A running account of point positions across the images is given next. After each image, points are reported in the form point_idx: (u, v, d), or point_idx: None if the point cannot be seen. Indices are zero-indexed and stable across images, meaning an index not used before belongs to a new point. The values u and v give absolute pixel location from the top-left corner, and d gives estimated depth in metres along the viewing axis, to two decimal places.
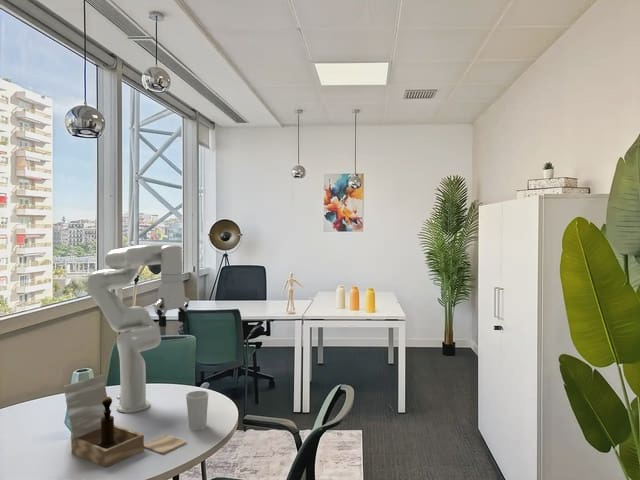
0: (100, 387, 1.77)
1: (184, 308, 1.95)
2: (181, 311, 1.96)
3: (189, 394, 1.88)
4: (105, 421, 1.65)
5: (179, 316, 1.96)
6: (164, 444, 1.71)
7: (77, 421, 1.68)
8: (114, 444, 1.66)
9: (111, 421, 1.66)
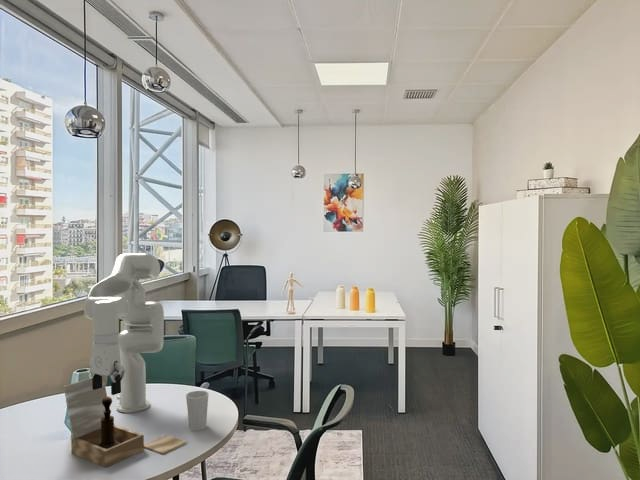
0: None
1: None
2: (98, 376, 1.69)
3: (189, 394, 1.88)
4: (105, 421, 1.65)
5: (96, 383, 1.68)
6: (164, 444, 1.71)
7: (77, 421, 1.68)
8: (114, 444, 1.66)
9: (111, 421, 1.66)
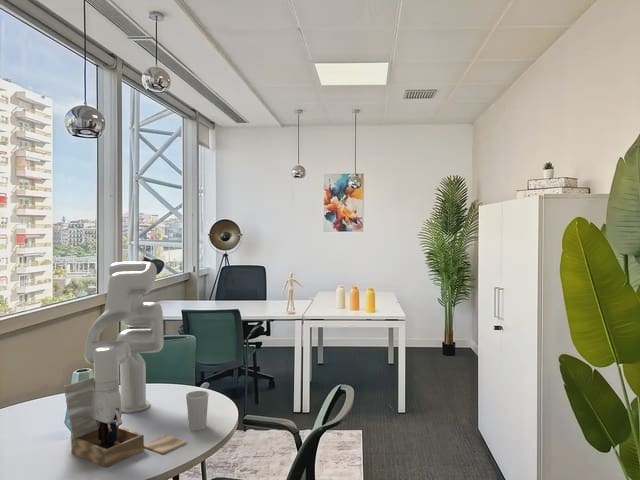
0: None
1: None
2: None
3: (189, 394, 1.88)
4: None
5: None
6: (164, 444, 1.71)
7: (77, 421, 1.68)
8: (114, 444, 1.66)
9: None
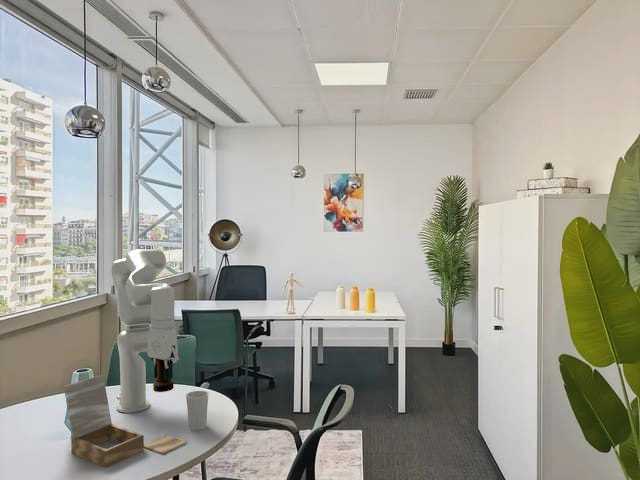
0: (100, 387, 1.77)
1: None
2: None
3: (189, 394, 1.89)
4: None
5: None
6: (164, 444, 1.71)
7: (77, 421, 1.68)
8: (170, 381, 1.70)
9: None
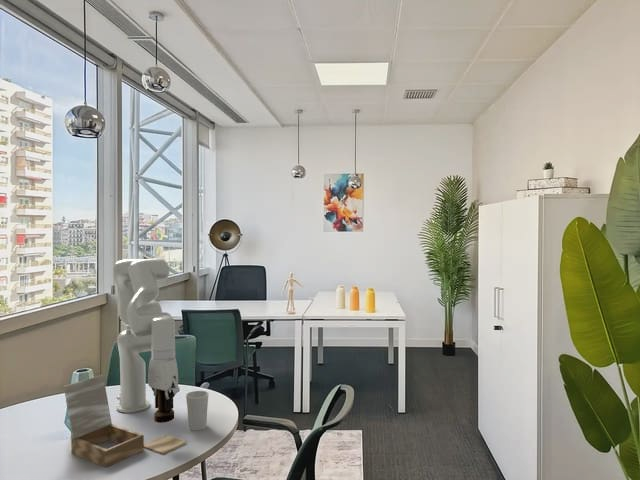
0: (100, 387, 1.77)
1: None
2: None
3: (189, 394, 1.89)
4: None
5: None
6: (164, 444, 1.71)
7: (77, 421, 1.68)
8: (170, 412, 1.70)
9: None
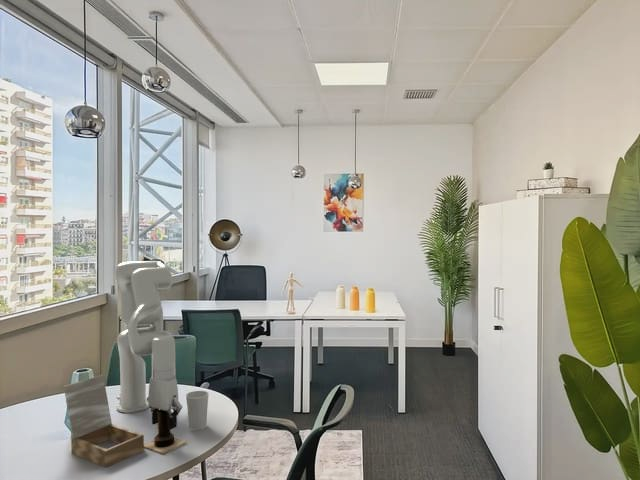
0: (100, 387, 1.77)
1: None
2: (157, 410, 1.74)
3: (189, 394, 1.89)
4: (162, 413, 1.70)
5: (155, 418, 1.73)
6: None
7: (77, 421, 1.68)
8: (170, 436, 1.71)
9: None
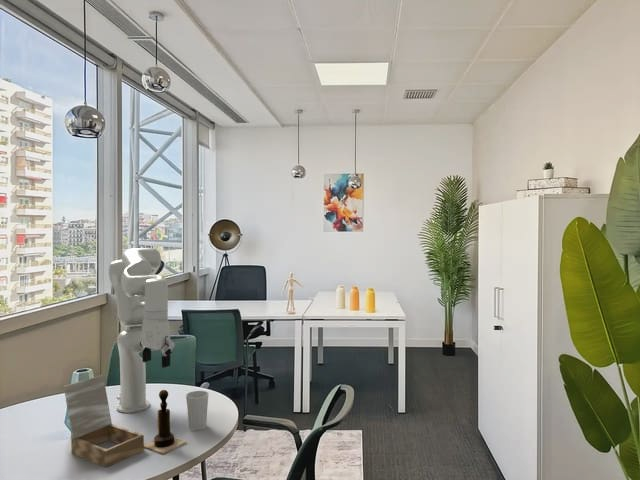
0: (100, 387, 1.77)
1: None
2: (147, 349, 1.79)
3: (189, 394, 1.88)
4: (162, 414, 1.70)
5: (145, 356, 1.78)
6: None
7: (77, 421, 1.68)
8: (170, 436, 1.71)
9: (168, 414, 1.71)
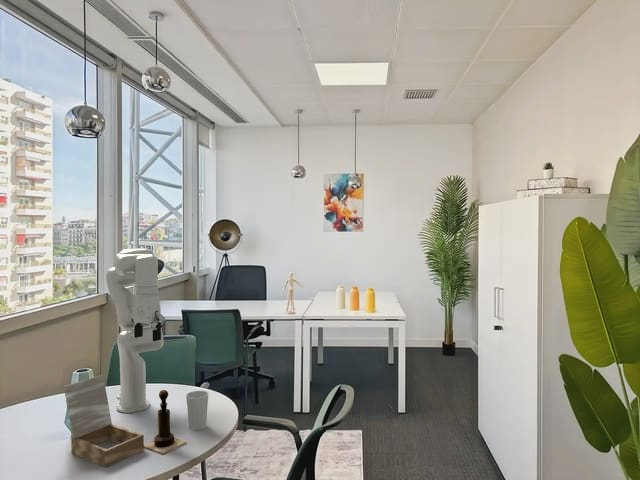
0: (100, 387, 1.77)
1: None
2: (139, 325, 1.85)
3: (189, 394, 1.88)
4: (162, 414, 1.70)
5: (137, 331, 1.84)
6: None
7: (77, 421, 1.68)
8: (170, 436, 1.71)
9: (168, 414, 1.71)
